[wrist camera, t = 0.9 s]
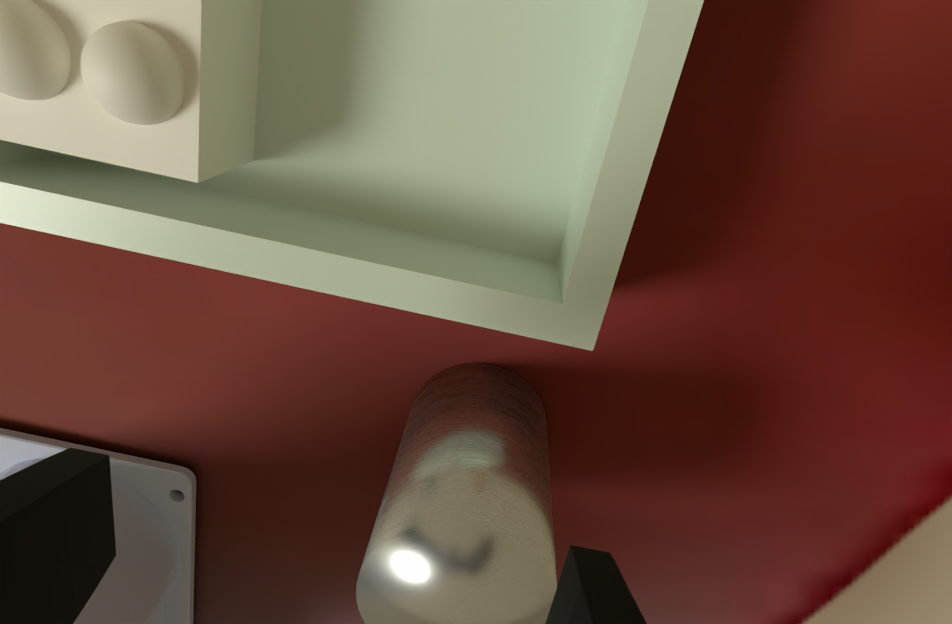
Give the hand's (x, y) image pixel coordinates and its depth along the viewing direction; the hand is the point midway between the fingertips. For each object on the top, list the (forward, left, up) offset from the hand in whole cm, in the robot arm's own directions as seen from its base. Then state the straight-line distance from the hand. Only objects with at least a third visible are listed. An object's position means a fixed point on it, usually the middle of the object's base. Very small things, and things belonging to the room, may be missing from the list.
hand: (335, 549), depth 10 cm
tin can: (-3, -2, -10) cm, 10 cm away
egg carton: (+8, +8, -9) cm, 14 cm away
